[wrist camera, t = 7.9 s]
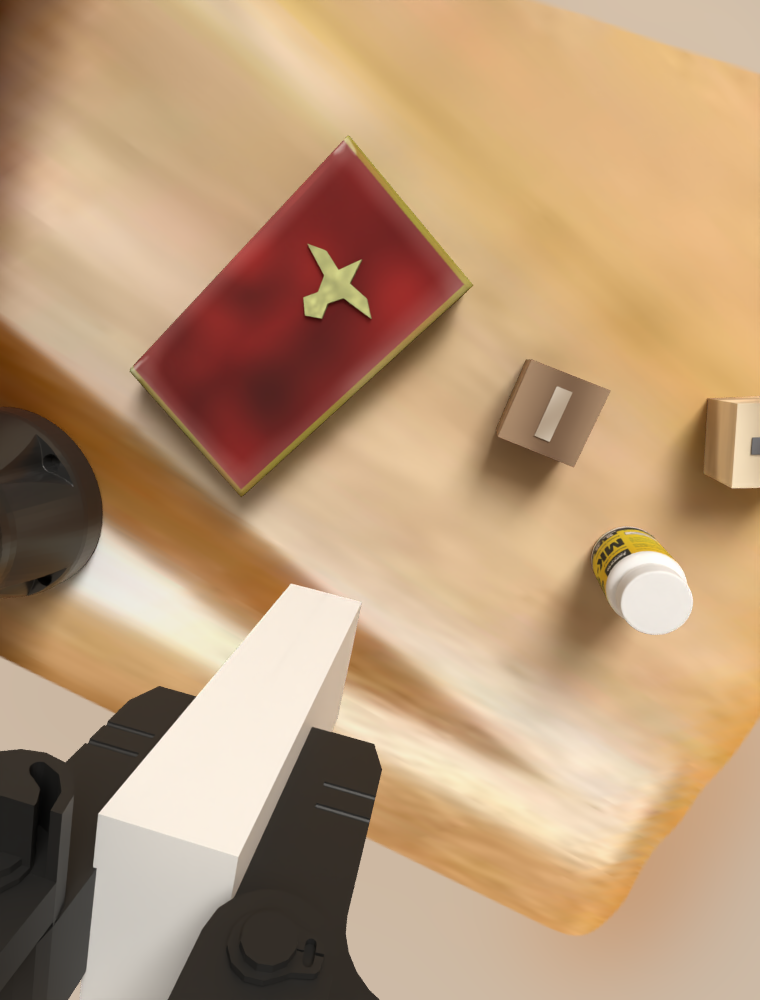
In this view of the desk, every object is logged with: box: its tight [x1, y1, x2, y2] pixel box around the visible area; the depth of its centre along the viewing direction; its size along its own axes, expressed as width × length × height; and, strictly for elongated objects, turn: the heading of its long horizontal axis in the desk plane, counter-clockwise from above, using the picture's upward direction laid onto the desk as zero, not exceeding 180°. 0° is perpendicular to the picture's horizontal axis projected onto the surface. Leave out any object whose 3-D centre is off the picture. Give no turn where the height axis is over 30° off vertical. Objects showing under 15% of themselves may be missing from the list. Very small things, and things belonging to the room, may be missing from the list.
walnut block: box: [496, 360, 610, 467], centre depth 40 cm, size 5×5×5 cm
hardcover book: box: [130, 136, 473, 497], centre depth 42 cm, size 12×21×4 cm, turn 131°
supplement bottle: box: [591, 527, 693, 635], centre depth 39 cm, size 5×5×8 cm
